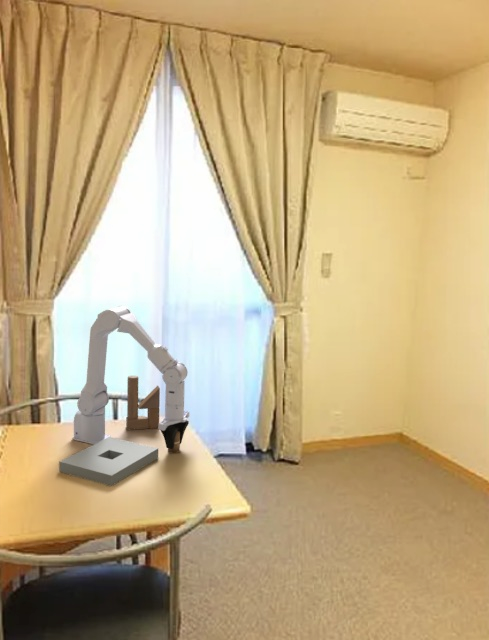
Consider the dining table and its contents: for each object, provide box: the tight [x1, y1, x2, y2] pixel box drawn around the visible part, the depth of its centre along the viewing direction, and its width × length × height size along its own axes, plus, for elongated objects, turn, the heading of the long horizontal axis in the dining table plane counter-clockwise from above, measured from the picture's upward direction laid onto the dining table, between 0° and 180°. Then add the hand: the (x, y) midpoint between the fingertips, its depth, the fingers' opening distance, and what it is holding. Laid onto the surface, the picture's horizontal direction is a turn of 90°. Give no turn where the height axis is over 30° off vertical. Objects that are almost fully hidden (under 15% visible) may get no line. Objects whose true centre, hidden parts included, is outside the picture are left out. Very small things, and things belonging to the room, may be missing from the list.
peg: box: [167, 431, 181, 454], centre depth 181 cm, size 4×4×6 cm
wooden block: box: [125, 375, 161, 431], centre depth 199 cm, size 4×11×18 cm, turn 108°
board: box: [58, 436, 159, 487], centre depth 170 cm, size 18×22×3 cm
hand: (173, 445), depth 181 cm, fingers open, 4 cm apart
